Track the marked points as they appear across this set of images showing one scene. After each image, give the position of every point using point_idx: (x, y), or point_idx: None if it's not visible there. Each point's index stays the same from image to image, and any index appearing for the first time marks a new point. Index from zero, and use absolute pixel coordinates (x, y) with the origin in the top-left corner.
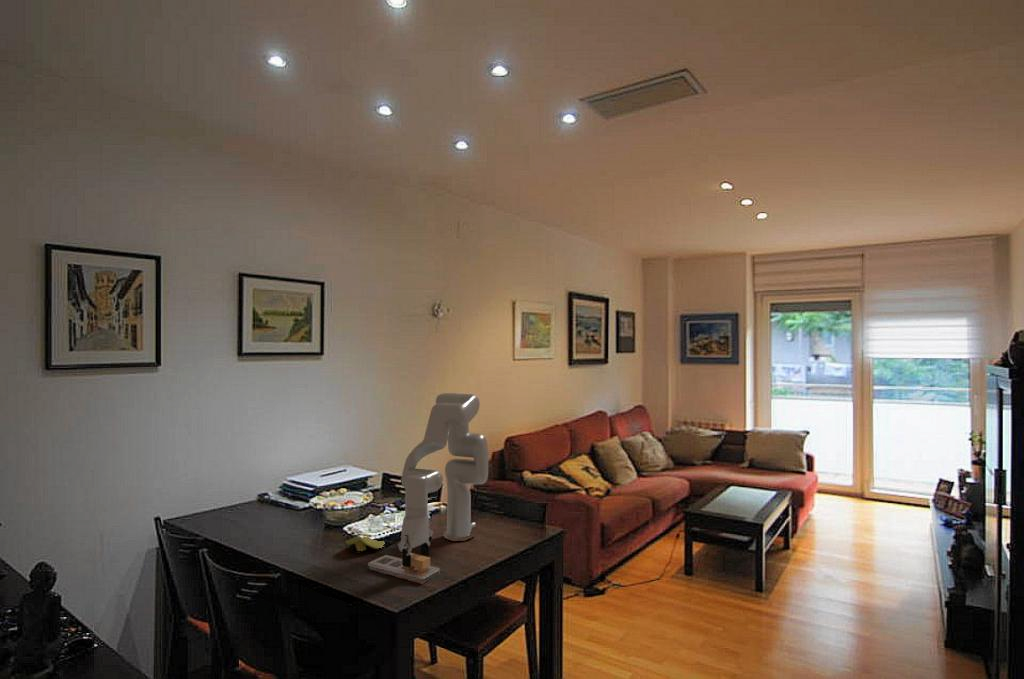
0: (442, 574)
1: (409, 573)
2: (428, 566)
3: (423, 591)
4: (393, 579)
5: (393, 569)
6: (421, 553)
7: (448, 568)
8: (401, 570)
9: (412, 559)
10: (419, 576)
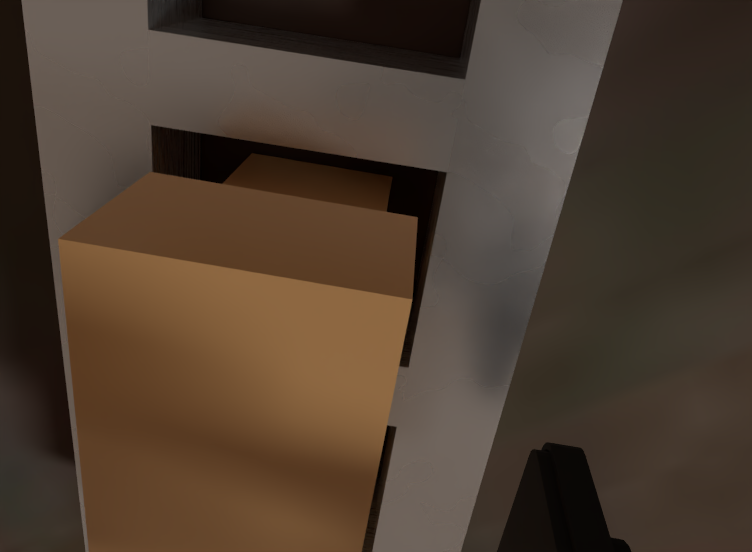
0: (482, 549)
1: (69, 377)
2: (438, 496)
3: (13, 541)
4: (30, 78)
5: (27, 26)
6: (540, 509)
7: (685, 547)
8: (81, 206)
9: (94, 510)
10: (84, 516)
